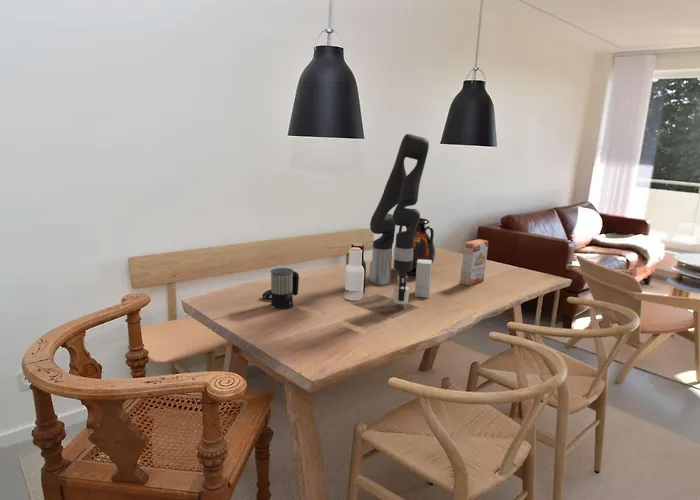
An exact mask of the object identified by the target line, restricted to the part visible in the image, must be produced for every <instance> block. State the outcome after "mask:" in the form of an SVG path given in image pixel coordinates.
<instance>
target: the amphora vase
mask: <svg viewBox="0 0 700 500" xmlns="http://www.w3.org/2000/svg"><path fill="white" fill-rule="evenodd" d="M428 224H430V220H429V219H426V218H424V217H423V218H422V217H420V220H419V223H418V225H417V228H416V231H415V235H414V242H413V265H412V270H411V271H409V272H408V271H407V272H406V273H407V276H411V277H412V276H413V277H416V268H417V261H418V259H422V260H432V263H431V265H432V264H433V263H434V261H435V260H436V247H435V243H434V234H435V233H434V232H435V231H434V229H433V227H432V226H430V225H428ZM426 225H428V226H426ZM403 228H404V226H399V227H398V232H402V231H403ZM405 228H406V229H405V231H407V230H409V229H410V227H409V226H405ZM427 230H429V232H430V235H429V234H428V232H427ZM393 248H394V249H393V253H394V252H395V247H393Z"/></svg>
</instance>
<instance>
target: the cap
mask: <svg viewBox="0 0 700 500" xmlns="http://www.w3.org/2000/svg"><path fill="white" fill-rule="evenodd" d="M400 289H404V287H401V288H400ZM398 290H399V286H398V284H397V285H394V286H393V293H392V294H393V295H392V299H393V302H394V303H397V304H407V303H408V304H409V293H410V287H409V286H407V285H406V289H405V290H406V291H405V293H404V301H399V300H398V298H399V291H398Z"/></svg>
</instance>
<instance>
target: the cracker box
mask: <svg viewBox="0 0 700 500" xmlns="http://www.w3.org/2000/svg"><path fill="white" fill-rule="evenodd" d="M463 243H464V244H463V250H462V251H463V252H462V262H461V269H460V271H461V272H460V280H459V284H462V285H465V286H467V287H471V286H474V285H476V284H479V283H482V282H484V281H485V280H484V279H485V272H486V264H487V258H488V257H487V256H488V250H489V240H487V239H480V238H478V239H474V240H469V241H466V242H463Z"/></svg>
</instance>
